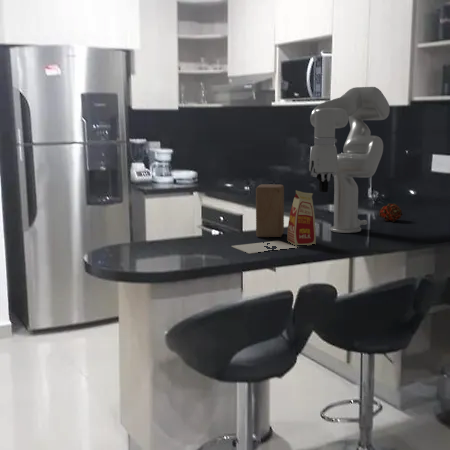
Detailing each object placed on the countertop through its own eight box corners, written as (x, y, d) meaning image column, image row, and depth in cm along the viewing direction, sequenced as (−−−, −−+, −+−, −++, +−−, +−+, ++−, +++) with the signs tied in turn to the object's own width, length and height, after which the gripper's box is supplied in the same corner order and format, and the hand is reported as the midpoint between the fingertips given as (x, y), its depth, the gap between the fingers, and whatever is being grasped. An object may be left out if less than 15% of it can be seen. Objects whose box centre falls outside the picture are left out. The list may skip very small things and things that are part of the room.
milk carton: (295, 246, 235) (295, 191, 232) (286, 241, 244) (286, 189, 240) (318, 244, 237) (319, 190, 234) (308, 240, 246) (308, 188, 243)
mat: (278, 241, 244) (278, 240, 244) (298, 248, 232) (298, 247, 232) (231, 246, 236) (231, 245, 236) (248, 253, 223) (248, 253, 223)
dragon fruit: (400, 226, 280) (379, 226, 291) (410, 213, 284) (389, 214, 294) (391, 211, 277) (370, 212, 288) (401, 199, 281) (380, 200, 291)
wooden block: (281, 238, 250) (281, 187, 247) (255, 237, 252) (255, 186, 249) (284, 233, 260) (284, 184, 257) (259, 232, 262) (259, 184, 259)
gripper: (335, 141, 245) (334, 189, 247) (301, 142, 238) (301, 191, 241) (347, 142, 238) (346, 191, 241) (313, 143, 232) (312, 193, 234)
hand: (323, 191), depth 241 cm, fingers closed
